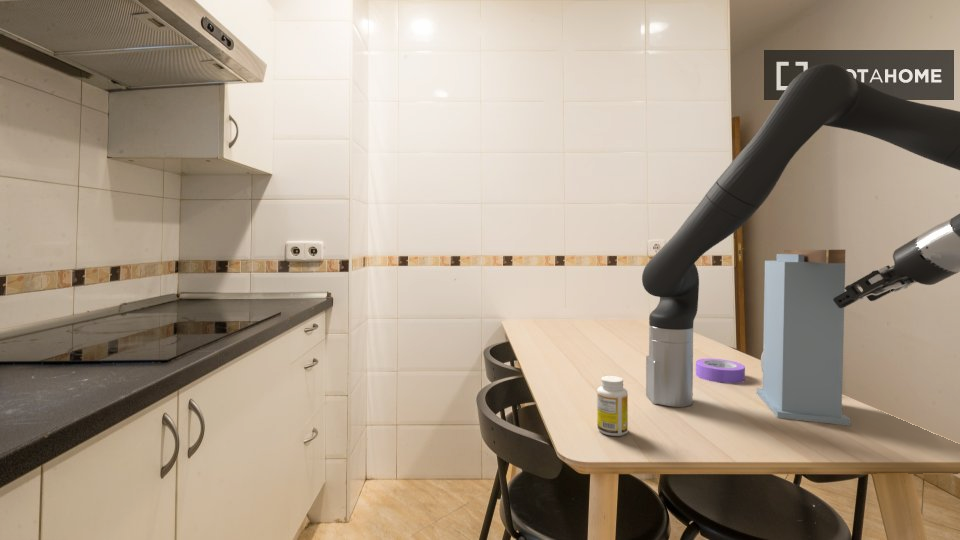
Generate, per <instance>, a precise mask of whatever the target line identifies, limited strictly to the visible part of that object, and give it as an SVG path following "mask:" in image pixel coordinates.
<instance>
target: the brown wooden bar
mask: <svg viewBox="0 0 960 540" xmlns="http://www.w3.org/2000/svg"><path fill="white" fill-rule="evenodd" d="M783 254H804V262H816V263H845V264H846V249H792V250H791V249H784V251H783Z"/></svg>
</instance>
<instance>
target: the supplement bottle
mask: <svg viewBox="0 0 960 540" xmlns="http://www.w3.org/2000/svg"><path fill="white" fill-rule="evenodd" d="M600 384H601V385H600V386H599V387H597V391H596V392H597V393H596V397H597V398H596V401H597V402H596V403H597V405H596V406H597V407H596V408H597V409H596V410H597V420H596V421H597V422H596V423H597V430H598V431H599V432H600V433H601V434H604V435H607V436H609V437H610V436H611V437H621V436H625V435H626V434H627V433H628V431H629V429H628V424H629V423H628V419H629V418H628V410H629V409H628V408H629V407H628V401H629V400H628V399H629V398H628V390H627V389H626V388H624V380H623V377H619V376H615V375H605V376H602V377H601V383H600Z"/></svg>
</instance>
